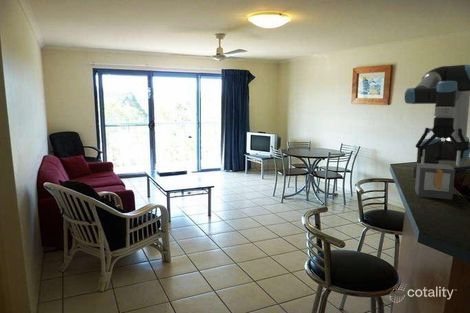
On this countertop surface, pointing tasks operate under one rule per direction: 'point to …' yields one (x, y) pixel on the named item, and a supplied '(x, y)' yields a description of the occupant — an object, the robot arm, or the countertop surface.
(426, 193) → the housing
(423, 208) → the countertop surface
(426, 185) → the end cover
